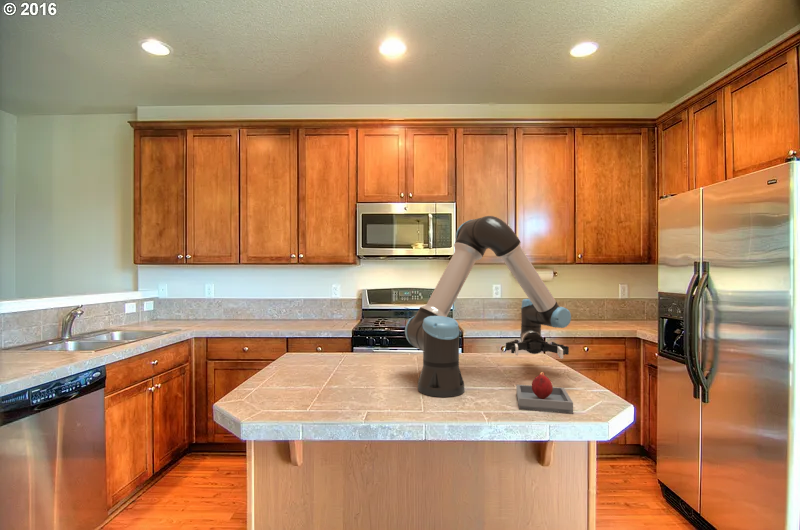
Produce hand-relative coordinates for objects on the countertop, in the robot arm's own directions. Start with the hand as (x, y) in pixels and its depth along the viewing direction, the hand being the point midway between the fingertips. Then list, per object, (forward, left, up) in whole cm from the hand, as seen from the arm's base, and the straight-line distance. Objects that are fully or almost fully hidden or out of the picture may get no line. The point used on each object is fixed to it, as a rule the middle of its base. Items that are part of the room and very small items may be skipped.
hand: (539, 352), depth 122 cm
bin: (-6, -9, -13) cm, 16 cm away
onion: (-6, -9, -12) cm, 16 cm away
